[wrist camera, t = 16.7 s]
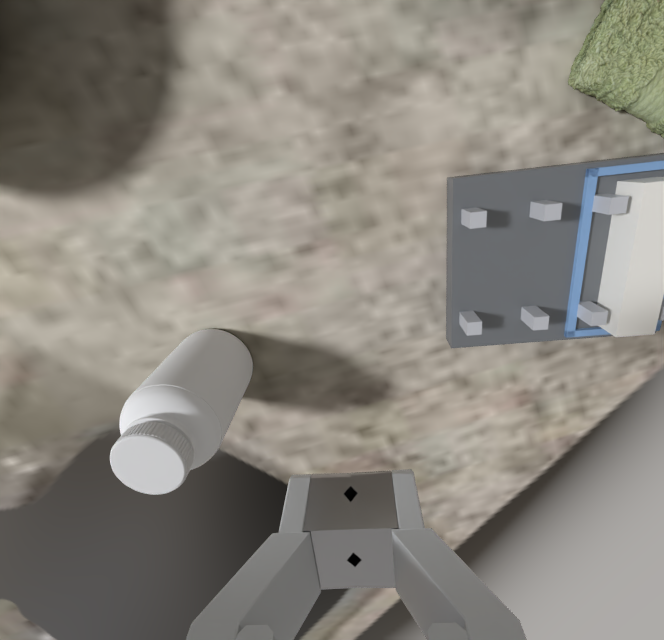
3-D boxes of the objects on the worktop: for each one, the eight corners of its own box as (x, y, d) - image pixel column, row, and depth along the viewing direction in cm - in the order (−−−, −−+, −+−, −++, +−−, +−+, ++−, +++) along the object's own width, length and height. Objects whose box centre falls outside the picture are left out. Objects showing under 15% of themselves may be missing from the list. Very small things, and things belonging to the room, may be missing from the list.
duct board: (447, 177, 32) (461, 179, 27) (677, 151, 30) (729, 149, 26) (446, 338, 37) (458, 361, 33) (640, 324, 36) (678, 345, 32)
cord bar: (617, 181, 29) (645, 182, 27) (658, 176, 29) (691, 178, 26) (594, 323, 34) (615, 337, 31) (629, 320, 34) (654, 334, 31)
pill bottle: (271, 366, 39) (227, 475, 26) (218, 405, 42) (152, 526, 28) (215, 310, 37) (135, 398, 23) (163, 355, 40) (63, 459, 26)
